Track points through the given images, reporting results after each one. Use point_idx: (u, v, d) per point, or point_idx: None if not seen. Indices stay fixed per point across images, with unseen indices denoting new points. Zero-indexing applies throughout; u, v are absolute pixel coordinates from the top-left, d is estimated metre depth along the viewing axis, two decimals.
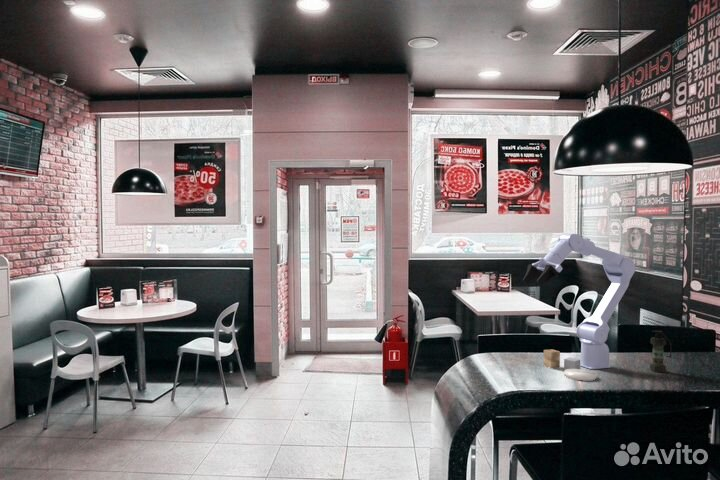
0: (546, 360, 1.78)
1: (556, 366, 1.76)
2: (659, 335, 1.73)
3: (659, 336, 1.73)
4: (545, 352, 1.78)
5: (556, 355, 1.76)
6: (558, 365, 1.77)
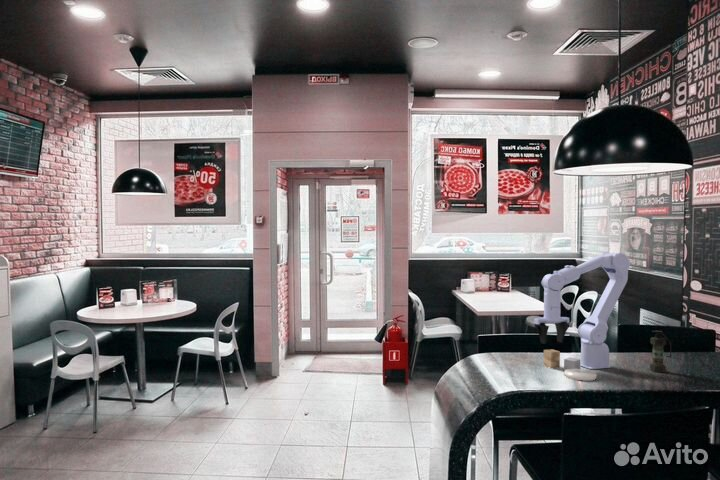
0: (546, 360, 1.78)
1: (556, 366, 1.76)
2: (659, 335, 1.73)
3: (659, 336, 1.73)
4: (545, 352, 1.78)
5: (556, 355, 1.76)
6: (558, 365, 1.77)
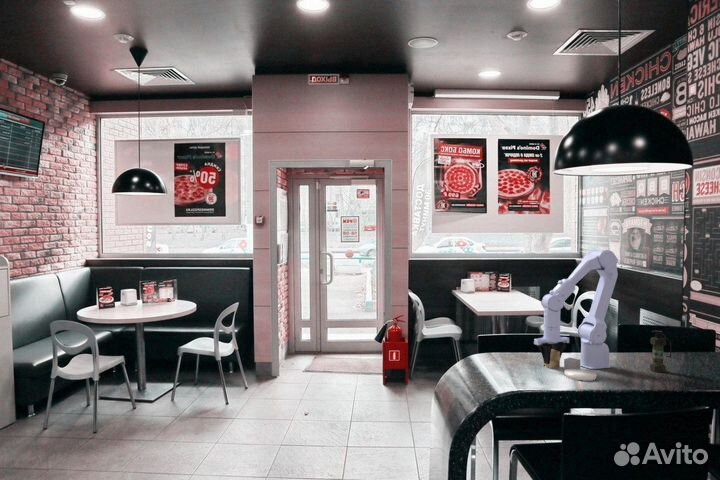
0: None
1: (556, 366, 1.76)
2: (659, 335, 1.73)
3: (659, 336, 1.73)
4: None
5: (556, 355, 1.76)
6: (558, 365, 1.77)
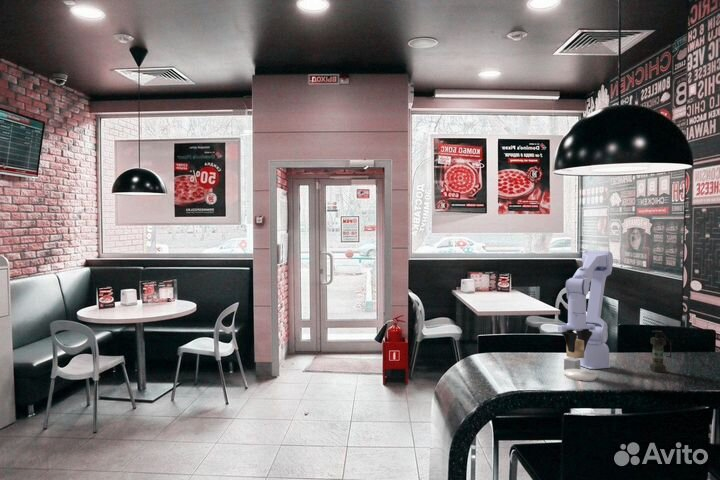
0: None
1: (580, 356, 1.65)
2: (659, 335, 1.73)
3: (659, 336, 1.73)
4: None
5: (581, 344, 1.65)
6: (582, 355, 1.65)
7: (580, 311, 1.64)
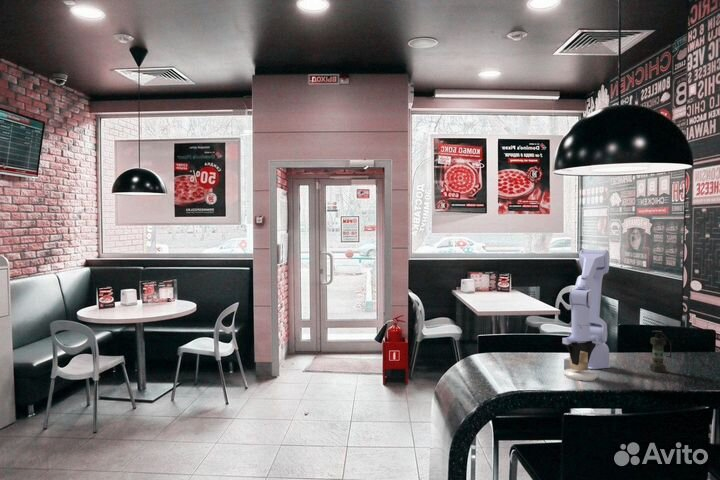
0: None
1: (584, 368, 1.64)
2: (659, 335, 1.73)
3: (659, 336, 1.73)
4: None
5: (584, 357, 1.64)
6: (586, 367, 1.64)
7: (584, 323, 1.62)
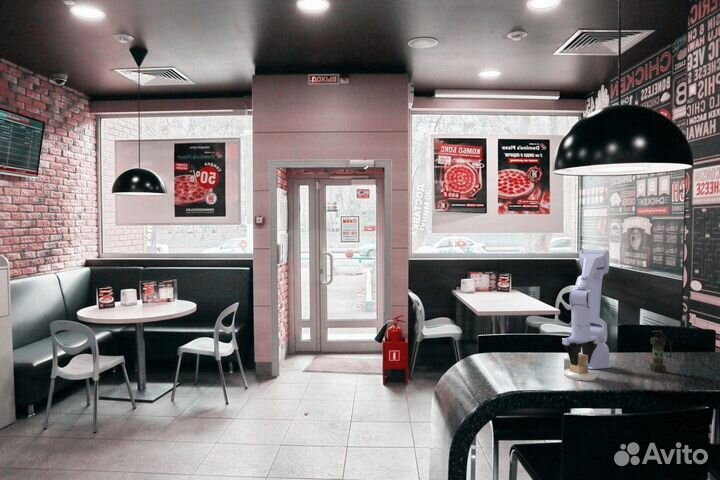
0: (573, 365, 1.65)
1: (584, 371, 1.64)
2: (659, 335, 1.73)
3: (659, 336, 1.73)
4: None
5: (585, 359, 1.64)
6: (586, 370, 1.64)
7: (584, 324, 1.62)
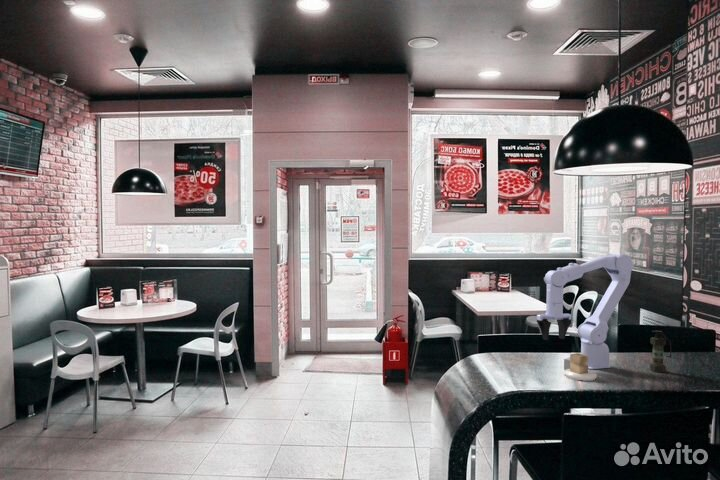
0: (573, 365, 1.65)
1: (584, 371, 1.64)
2: (659, 335, 1.73)
3: (659, 336, 1.73)
4: (572, 356, 1.65)
5: (585, 360, 1.64)
6: (586, 370, 1.64)
7: (551, 301, 1.76)
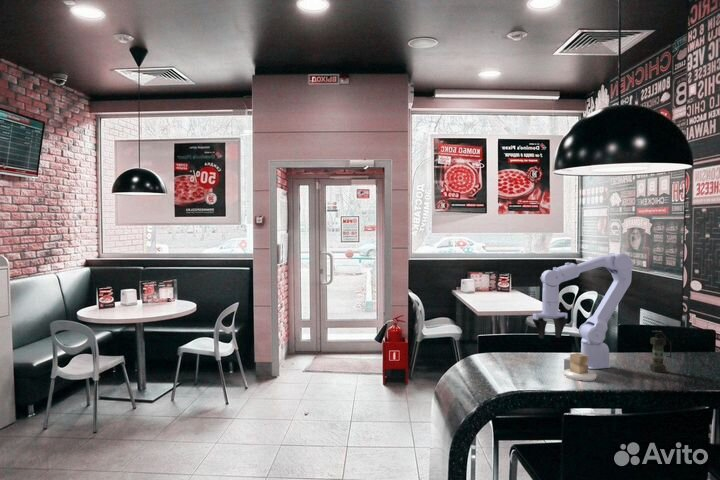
0: (573, 365, 1.65)
1: (584, 371, 1.64)
2: (659, 335, 1.73)
3: (659, 336, 1.73)
4: (572, 356, 1.65)
5: (585, 360, 1.64)
6: (586, 370, 1.64)
7: (546, 300, 1.79)
